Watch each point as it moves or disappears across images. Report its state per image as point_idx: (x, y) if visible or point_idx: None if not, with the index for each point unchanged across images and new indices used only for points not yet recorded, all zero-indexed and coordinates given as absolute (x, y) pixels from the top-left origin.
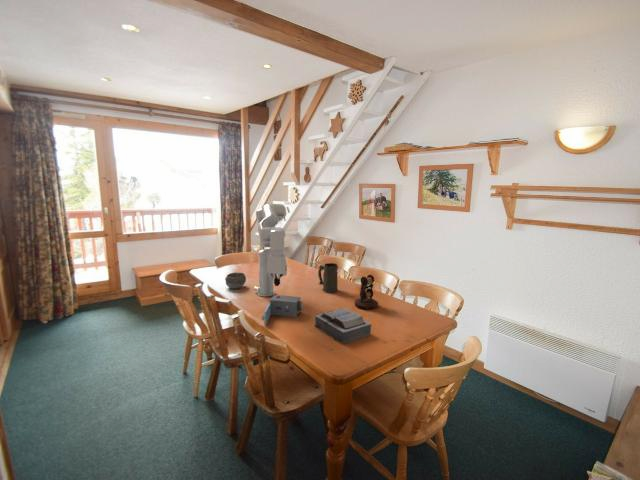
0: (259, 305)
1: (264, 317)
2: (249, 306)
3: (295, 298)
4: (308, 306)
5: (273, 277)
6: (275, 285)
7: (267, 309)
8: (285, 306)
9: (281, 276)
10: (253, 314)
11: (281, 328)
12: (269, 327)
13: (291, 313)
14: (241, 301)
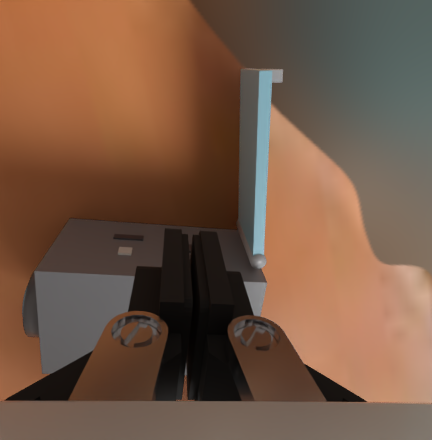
0: (323, 334)
1: (260, 69)
2: (376, 313)
3: (69, 341)
4: (41, 368)
5: (279, 342)
6: (204, 232)
7: (256, 140)
8: (137, 254)
9: (38, 389)
10: (341, 218)
11: (119, 25)
12: (207, 34)
13: (98, 229)
14: (423, 362)
